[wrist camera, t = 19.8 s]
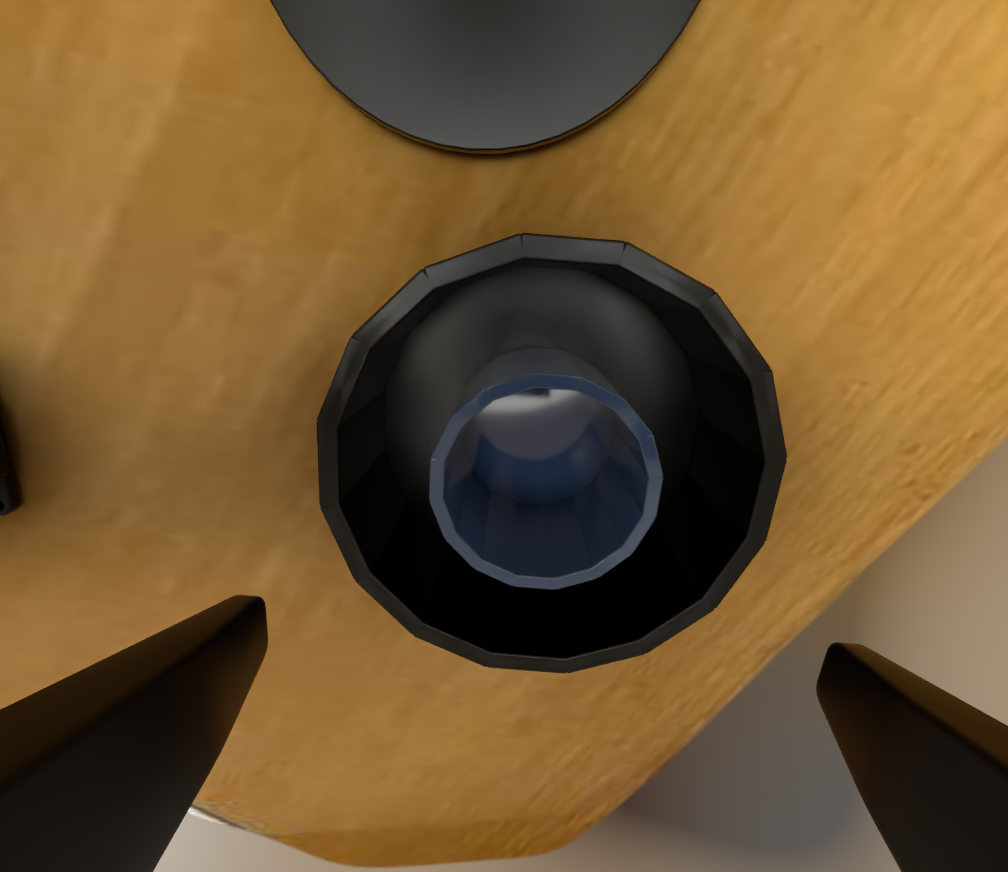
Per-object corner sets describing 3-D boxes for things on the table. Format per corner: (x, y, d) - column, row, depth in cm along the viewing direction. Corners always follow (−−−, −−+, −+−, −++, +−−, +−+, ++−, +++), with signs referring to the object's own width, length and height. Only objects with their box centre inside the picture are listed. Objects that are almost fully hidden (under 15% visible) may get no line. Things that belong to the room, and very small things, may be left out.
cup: (450, 500, 20) (425, 580, 14) (457, 340, 18) (433, 364, 12) (608, 512, 20) (642, 597, 14) (632, 354, 18) (680, 384, 12)
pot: (675, 586, 21) (729, 687, 16) (372, 562, 21) (324, 655, 16) (741, 265, 17) (840, 257, 12) (371, 236, 17) (307, 215, 12)
